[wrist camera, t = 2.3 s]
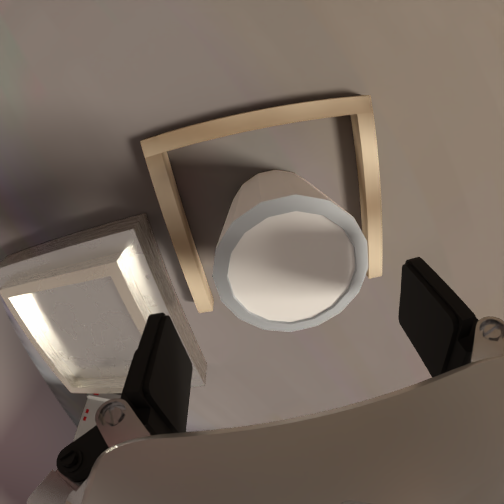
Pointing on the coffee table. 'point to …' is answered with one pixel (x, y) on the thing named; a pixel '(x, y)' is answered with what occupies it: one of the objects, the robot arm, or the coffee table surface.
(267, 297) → the white cup
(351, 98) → the cradle
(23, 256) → the plate
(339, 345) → the coffee table surface
